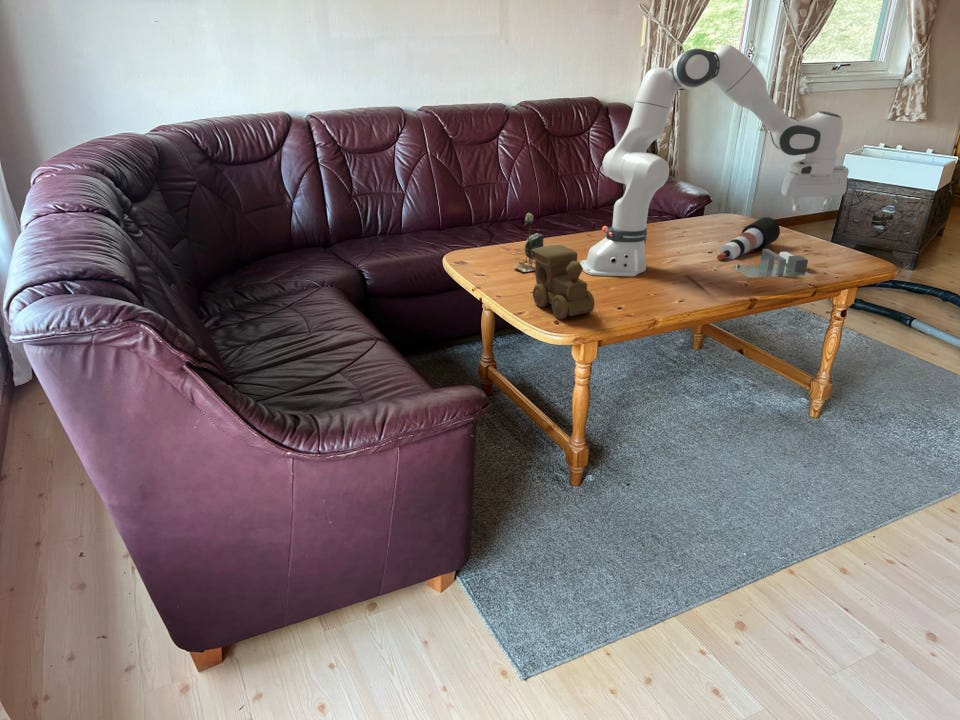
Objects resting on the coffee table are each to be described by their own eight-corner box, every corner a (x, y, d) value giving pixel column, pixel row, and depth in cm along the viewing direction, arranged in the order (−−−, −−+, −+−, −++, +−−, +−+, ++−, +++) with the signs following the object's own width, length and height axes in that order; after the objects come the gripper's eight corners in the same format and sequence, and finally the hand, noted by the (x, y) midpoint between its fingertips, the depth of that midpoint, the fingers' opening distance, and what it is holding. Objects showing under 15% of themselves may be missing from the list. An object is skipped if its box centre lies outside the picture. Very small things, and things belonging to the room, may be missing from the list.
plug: (776, 260, 235) (778, 249, 234) (786, 260, 236) (789, 249, 234) (794, 271, 225) (796, 260, 223) (805, 271, 225) (808, 259, 223)
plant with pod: (549, 269, 230) (552, 211, 221) (520, 274, 226) (522, 215, 217) (537, 263, 237) (539, 206, 228) (509, 267, 232) (510, 209, 224)
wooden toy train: (527, 301, 203) (528, 248, 196) (558, 295, 208) (561, 243, 201) (564, 324, 187) (567, 267, 180) (597, 317, 192) (602, 261, 185)
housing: (747, 280, 220) (751, 260, 217) (731, 268, 231) (734, 250, 228) (811, 277, 222) (815, 258, 219) (792, 266, 233) (796, 247, 230)
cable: (712, 274, 240) (702, 247, 238) (759, 245, 258) (750, 221, 257) (736, 267, 231) (727, 240, 230) (783, 239, 250) (775, 213, 249)
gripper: (843, 163, 216) (833, 206, 222) (783, 165, 214) (775, 208, 220) (855, 167, 210) (845, 211, 216) (793, 169, 208) (784, 213, 214)
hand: (809, 210), depth 218 cm, fingers open, 8 cm apart
